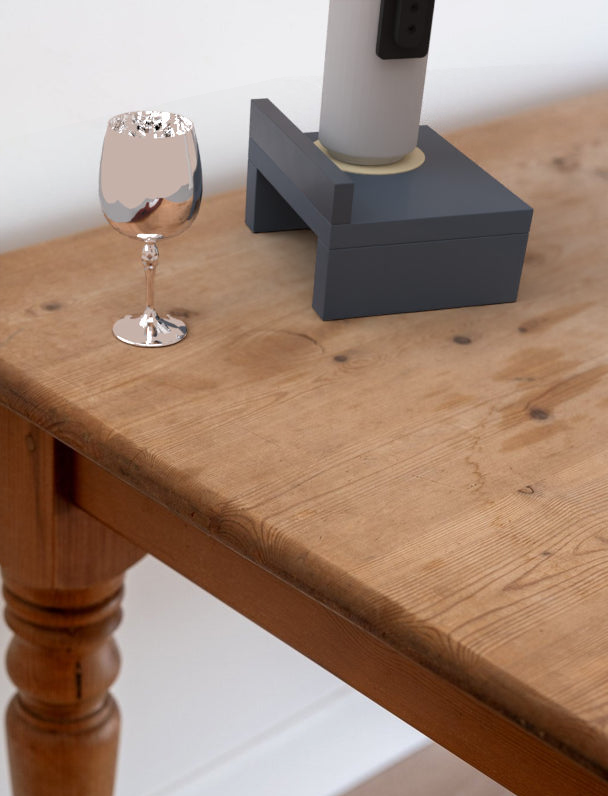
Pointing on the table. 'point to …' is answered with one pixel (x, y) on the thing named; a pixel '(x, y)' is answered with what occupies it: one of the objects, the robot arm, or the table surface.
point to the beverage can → (367, 90)
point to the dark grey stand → (387, 221)
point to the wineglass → (150, 202)
